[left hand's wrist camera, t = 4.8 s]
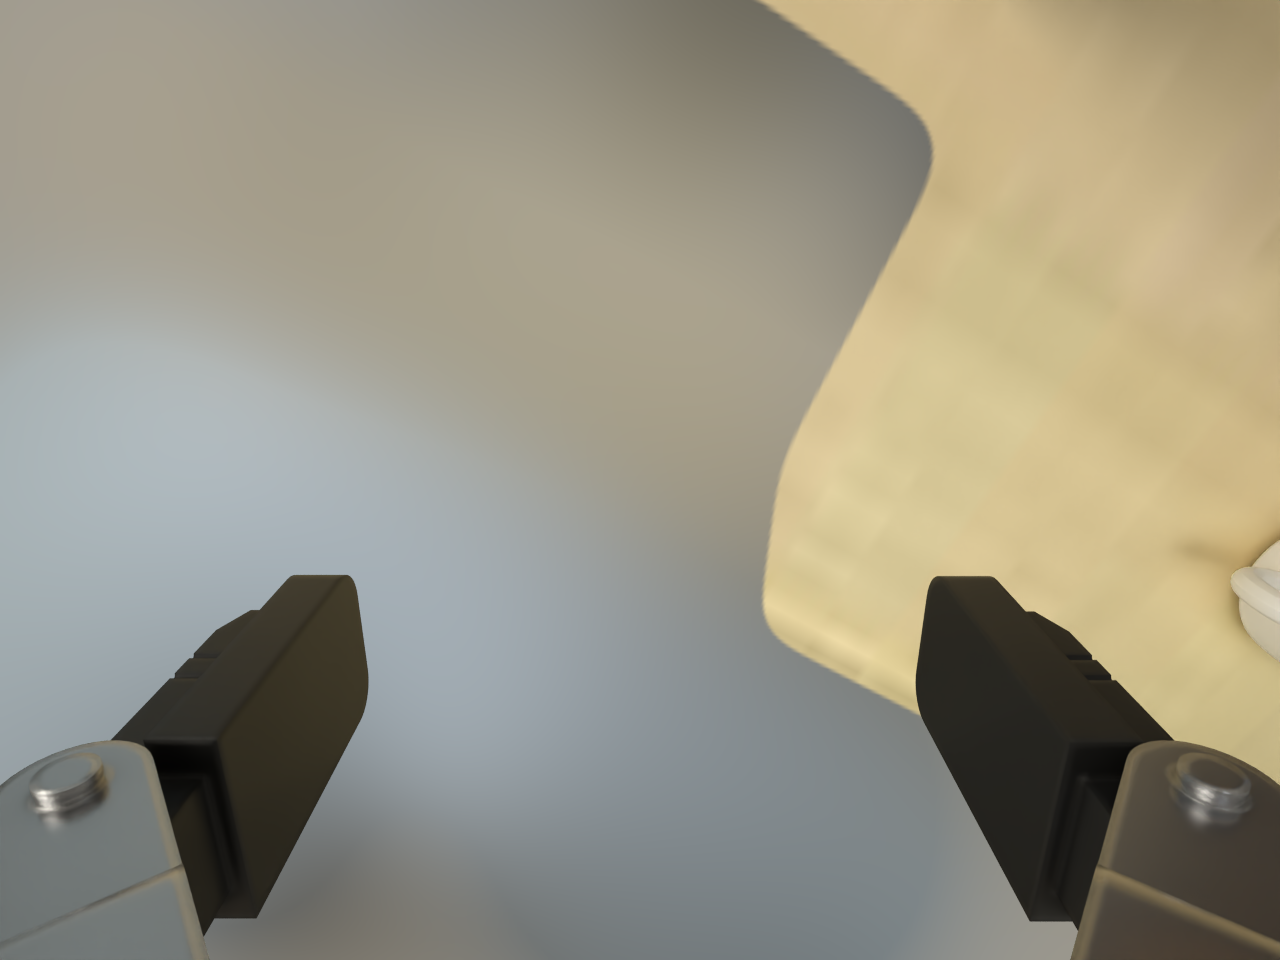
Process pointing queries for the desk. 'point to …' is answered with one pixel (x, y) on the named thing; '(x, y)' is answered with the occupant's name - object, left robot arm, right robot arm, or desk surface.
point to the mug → (1261, 599)
